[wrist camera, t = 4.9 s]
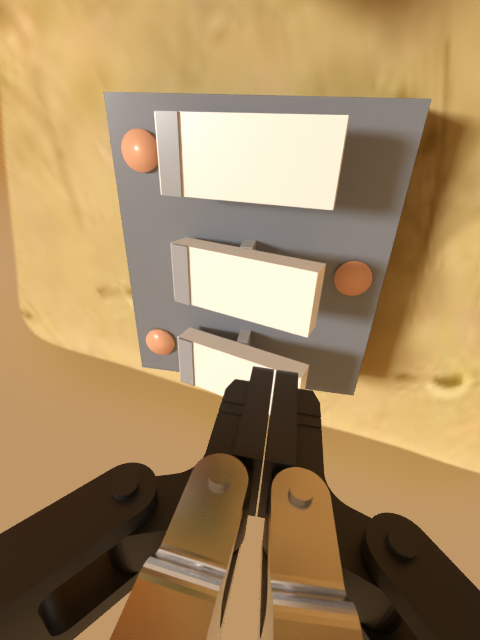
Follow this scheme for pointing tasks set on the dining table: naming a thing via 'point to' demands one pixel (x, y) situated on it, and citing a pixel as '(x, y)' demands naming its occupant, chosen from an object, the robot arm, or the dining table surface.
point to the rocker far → (227, 362)
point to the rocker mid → (248, 284)
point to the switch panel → (269, 227)
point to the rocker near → (251, 157)
